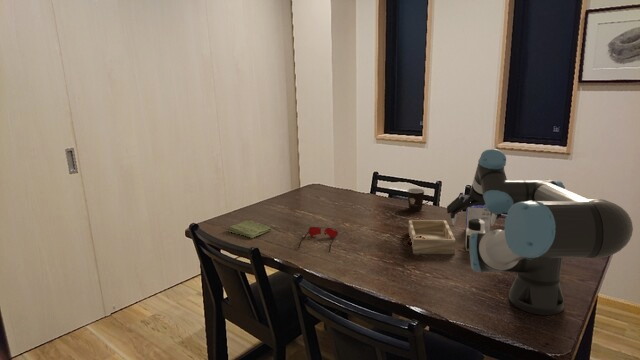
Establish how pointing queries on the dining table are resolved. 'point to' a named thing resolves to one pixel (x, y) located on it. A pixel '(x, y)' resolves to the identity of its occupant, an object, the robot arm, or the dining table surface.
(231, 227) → the washcloth
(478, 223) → the medicine bottle
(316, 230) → the glasses
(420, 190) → the coffee mug
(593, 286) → the dining table surface
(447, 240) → the birch box
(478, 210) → the ink cartridge box
